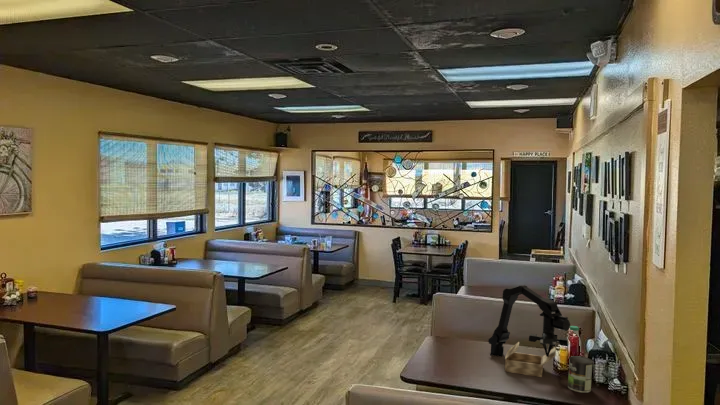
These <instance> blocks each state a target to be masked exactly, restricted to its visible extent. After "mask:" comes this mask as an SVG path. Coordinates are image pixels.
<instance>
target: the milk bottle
mask: <svg viewBox="0 0 720 405" xmlns="http://www.w3.org/2000/svg"><path fill="white" fill-rule="evenodd" d="M570 330H573V332H574V333H576V334H577V335H578V337H579V346H580V352H581V350H582V341H581V337H580V335H579V330H580V327H578V326H576V325H570V328H569V331H570ZM568 336H569V334H568ZM568 336H567V337H566V338H567V339H568ZM581 353H582V352H581Z"/></svg>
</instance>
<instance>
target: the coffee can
mask: <svg viewBox="0 0 720 405" xmlns="http://www.w3.org/2000/svg"><path fill="white" fill-rule="evenodd" d="M593 362H594V361H593V359H591V358H588V357H585V356H571V357H569V364H568V365H569V366H568V376H567V378H568V379H567V388H568V389H569V390H570V391H573V392H577V393H582V394H583V393H585V394H586V393H590V392H591V391H592V388H591V387H592V373H593V372H592V371H593V364H594V363H593Z"/></svg>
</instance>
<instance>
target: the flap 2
mask: <svg viewBox="0 0 720 405" xmlns="http://www.w3.org/2000/svg"><path fill="white" fill-rule="evenodd" d="M556 351H557V350H556V346H553V347H552V349H551V351H550V353H549V355H548V357H547V356H546V353H545V354H543V355H542V356H543V366H545V364H547V363H548V362H550V361H551V360H552V359H554V357H556V355H557V352H556Z"/></svg>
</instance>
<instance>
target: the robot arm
mask: <svg viewBox="0 0 720 405" xmlns="http://www.w3.org/2000/svg"><path fill="white" fill-rule="evenodd" d="M520 295H523V296H524V297H526V298H527V299H528V300H530V301H531V302H533V303H535V304H536V305H537V306H538V308H539V309H540V310H541V311H542V312H541V313H540V314H539V316H540V317H543V318H542V320H543V321H542V333H541V334H542V335H541V336H538V334H535V333H529V335H528V341H529V342H532V343H536V342H538V341H539V342H540V343H539V344H540V345H542V347H543V350H544V351H545V352H544V353H545V354H546V356H547V357H548V355H549V353H550V351H551V350H552V349H553V348H554V347H556V344H557V343H558V344H559V345H560V346H562V347H566V346H568V339H567V337H562V336H561V337H559V338H558V335H557V334H555V329H557V330H560V331H564V332H567V331H568V330H570V326H571V323H570V319H569V317H567V316H564V315H563V314H562V312H561V311H560V308H559V307H558V303H557V302H555V301H554V300H552V299H548V298H545V297H543V296H542V295H540V294H538V293H537V292H536V291H534V290H532V289H531V288H529V287H528V286H527V285H525V284H524V285H518V286H516V287H508V288H504V289H503V291H502V302H503V305H502V309H501V313H500V316H499V321H498V325H497V327H496V328H495V329H494V331H493V333H492V336H491V337H490V338H488V340H487V341H488V344H490V353H489V355H490V356H493V357H503V355H504V352H505V346H504V344H506V342H507V341H508V340H510V334H511V332H510V331H509V330H508V325H509V322H510V318H511V314H512V309H513V307H514V306H513V305H514V304H515V303H516V301H517V300H518V297H519V296H520Z"/></svg>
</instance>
